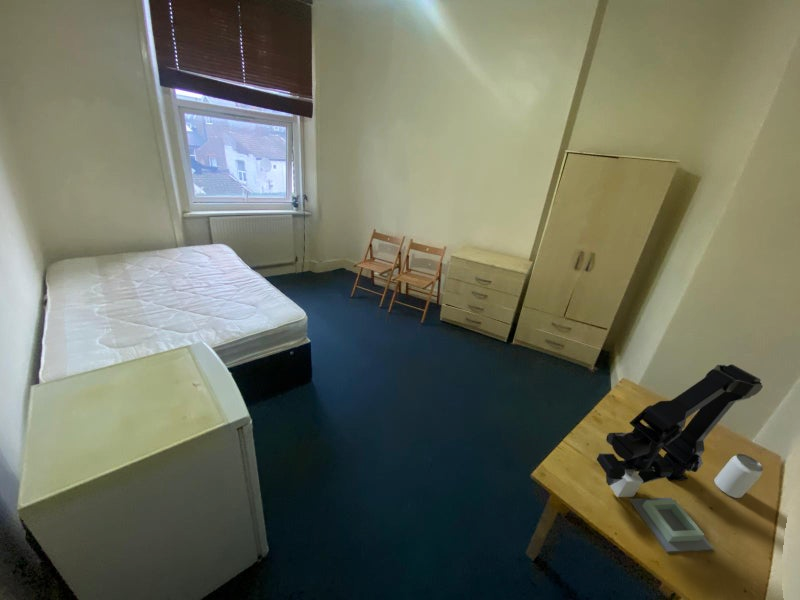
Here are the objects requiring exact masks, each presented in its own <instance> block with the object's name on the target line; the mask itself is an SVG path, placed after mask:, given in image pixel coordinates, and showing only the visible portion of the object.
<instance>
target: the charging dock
mask: <svg viewBox="0 0 800 600" xmlns="http://www.w3.org/2000/svg"><path fill="white" fill-rule="evenodd" d="M629 502H630V503H631V504H632V506H633V507H634V509H635V510H636V512H637V513H638V514H639V516H640V518H642V520H643V521H644V523H645V524H646V525H647V527H648V528H649V530H650V532H651V533H652V534H653V535H654V537H655V538H656V540H657V541H658V543H659V544H660V545H661V547H662V548H663V550H664V551H665V553H683V552H684V553H686V552H699V551H700V552H703V551H714V547H713V546H712V544H710V542H709V541H708V539H706V537H705V533H704V532H703V531H702V530H701V528H700V527H698V525H697V523H695V521H694V520H693V519H692V517H691V516H689V514H688V513H687V512H686V510H685V509H684V508H683V507H682V506H681V505H680V503H678V501H677V500H676V499H674V498H673V497H648V498H647V497H645V498H630V499H629Z"/></svg>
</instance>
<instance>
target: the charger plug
mask: <svg viewBox="0 0 800 600" xmlns="http://www.w3.org/2000/svg"><path fill="white" fill-rule="evenodd" d="M622 478H623V479H621V480H620V481H618V482H616V483H614V484H612V485H610V486H609V487H610V488H611V490H612V491H613V493H614V494H615V496H616V497H617V498H628V497H629V498H632V497H634V496H635V495H636V493H637V492H638V490H639V489H640V487H641V485H642V483H643V480H642V479H641V477H640V476H639V475H638V473H637V472H635V470H625V475H624V476H623V477H622ZM643 484H644V483H643Z"/></svg>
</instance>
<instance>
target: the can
mask: <svg viewBox="0 0 800 600" xmlns="http://www.w3.org/2000/svg"><path fill="white" fill-rule="evenodd" d="M763 471H764V467H763V466H762V464H761V463H760V462H759V461H757V460H756V459H755V458H753V457H752V456H749V455H747V454H745V453H744V454H743V453H737V454H736V455H734V456H733V455H732V457H731V458H730V459H729V461H728V462H727V463H726V464H725V465H724V467H723V468H722V469H721V470H720V472H719V473H718V474H717V475H716V476H715V478H714V481H713V482H714V484H715V486H716V488H718V489H719V490H720V491H721V492H722V493H724V494H725V495H727V496H729V497H731V498H735V499H740V498H742V497H744V495H745V494H746V493H747V492H748V491H749V490H750V488H751V487H752V486H753V485H754V484H755V483H756V482H757V481H758V480H759V478H760V477H761V476H762V475H763Z"/></svg>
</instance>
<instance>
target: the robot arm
mask: <svg viewBox="0 0 800 600" xmlns="http://www.w3.org/2000/svg"><path fill="white" fill-rule="evenodd" d="M761 381H762V380H761V379H760V378H759V377H757V376H755V375H753V374H752V373H750V372H748V371H746V370H744V369H742V368H741V367H739V366H736V365H734V364H732V363H731V364H729V365H726V364H716V366H715V367H714V368H712V369H711V370H709V371H708V372H707V373H706V375H705V377H703V378H702V379H701V380H699V381H698V382H696V383H695V384H693V385H691V387H689V388H688V389H686V390H685V391H683V392H682V393H680V394H679V395H677V396H675V397H674V398H673V399H671V400H660V401H658V402H656V403H654V404H652V405H648V406H646V407H645V408H644V409H643V410H642V411H640V413H639V414H637V415H636V416H635V417H634V418H633V419H632V420H631V421H630V422H629V424H630V425H631V426H632V427H633V430H632V431H629V432H608V434H606V435H607V436H606V438H605V439H606V443H607V444H609V445H611V446H612V449H613V451H614V452H615V454H616V455H617V456H618V457H619V458H621V459H622V460H619V459H618V458H617V457H616V455H615V454H614V453H611V452H610V453H609V452H608V453H605V452H604V453H598V455H597V457H596V461H597V462H598V464H599V466H600V467H601V468H602V470H603V471H604V473H605V480H606V481H605V482H606V484H607V485H608V486H609V487H610V485H612V484H614V483H616V482H618V481H620V480H621V479H623V478H622V477H623V476H624V475H625V470H635V472H638V473H637V474H638V475H639V476H640V477H641V479H642V480H643V483H642V484H646V483H649V482H653V481H656V480H661V479H665V478H666V479H667V480H668V481H673V482H674V481H675V482H676V481H687V480H689V478H688V477H687V476H686V472H687V471H688V472H694V473H696V472H698V471H699V469H700V468H701V467H702V465H703V464H704V461H703V460H702V457H701V456H702V454H703V453H704V452H705V443H704V440H705V439H706V438H707V436H708V435H709V434H710V433H711V432H712V430H713V429H714V428H715V426H717V424H718V423H719V422H720V421H721V419H722V418H723V417H724V416H725V414H727V412H728V411H729V410H730V409H731V408H732V406H733V405H734V404H735V403H736V402H740V401H743V400H749V399H750V398H751V397H754V396H755V395H757V394H758V393H759V392H761V390H762V389H763V387H764V386H763V384H762V382H761ZM693 414H695V415H694V416H693V417H692V418H691V420H690V421H689V422H688V424H686V423H687V419H688V418H689V417H691V416H692V415H693ZM642 421H643V422H644V423H645V424H646V425H644V423H642ZM661 450H663V451H664V452H665V454H664V455H661V453H660V451H661ZM642 484H641V485H642Z"/></svg>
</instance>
